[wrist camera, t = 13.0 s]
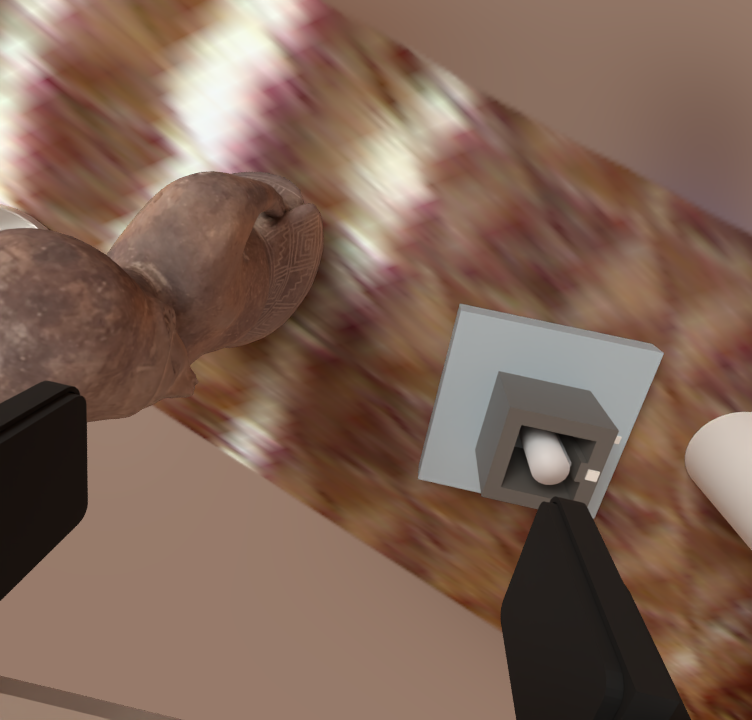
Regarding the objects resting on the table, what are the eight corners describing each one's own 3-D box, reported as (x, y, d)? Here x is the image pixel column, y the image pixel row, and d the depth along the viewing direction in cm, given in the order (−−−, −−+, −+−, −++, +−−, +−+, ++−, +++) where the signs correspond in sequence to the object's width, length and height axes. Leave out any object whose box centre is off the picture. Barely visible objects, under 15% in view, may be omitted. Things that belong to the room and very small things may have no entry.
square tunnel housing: (498, 370, 36) (510, 407, 30) (590, 390, 36) (619, 431, 30) (474, 449, 38) (481, 497, 32) (560, 468, 38) (582, 520, 32)
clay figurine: (268, 353, 40) (26, 605, 16) (163, 272, 38) (-262, 422, 15) (369, 221, 35) (235, 308, 12) (254, 125, 34) (-146, 14, 11)
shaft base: (418, 465, 42) (414, 533, 34) (459, 303, 37) (466, 338, 29) (587, 503, 41) (623, 581, 33) (652, 343, 36) (712, 391, 28)
